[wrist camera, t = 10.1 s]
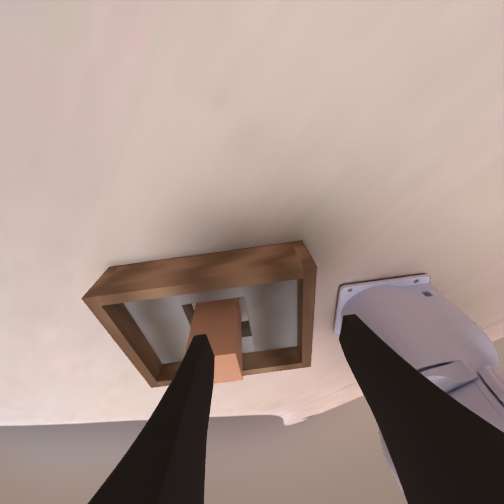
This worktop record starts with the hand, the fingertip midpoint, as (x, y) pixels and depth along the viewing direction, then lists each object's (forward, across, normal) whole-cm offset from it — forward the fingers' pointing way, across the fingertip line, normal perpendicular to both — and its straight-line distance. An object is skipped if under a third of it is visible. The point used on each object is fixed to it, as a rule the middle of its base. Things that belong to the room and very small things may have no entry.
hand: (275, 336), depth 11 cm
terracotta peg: (+10, +5, +7) cm, 13 cm away
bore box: (+9, +5, +7) cm, 13 cm away
